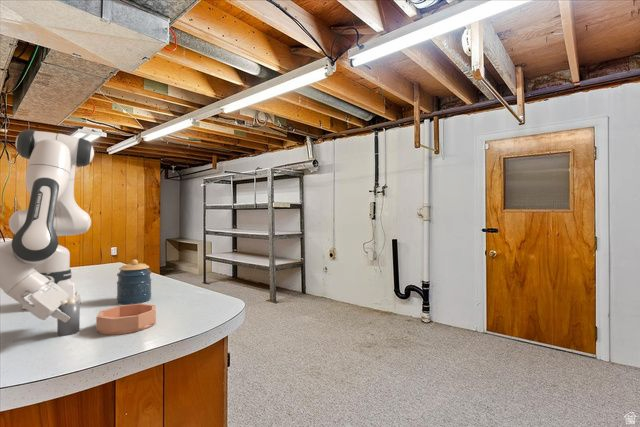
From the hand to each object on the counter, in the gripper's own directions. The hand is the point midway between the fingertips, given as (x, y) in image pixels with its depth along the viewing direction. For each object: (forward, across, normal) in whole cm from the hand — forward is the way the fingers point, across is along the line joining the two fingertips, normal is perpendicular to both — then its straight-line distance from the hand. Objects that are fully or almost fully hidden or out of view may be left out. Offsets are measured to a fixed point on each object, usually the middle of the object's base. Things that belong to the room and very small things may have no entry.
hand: (71, 316), depth 103 cm
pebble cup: (+3, 0, +4) cm, 5 cm away
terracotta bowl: (+14, -1, -8) cm, 16 cm away
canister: (+14, +35, -7) cm, 39 cm away
